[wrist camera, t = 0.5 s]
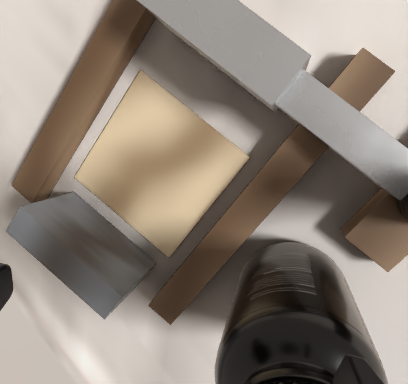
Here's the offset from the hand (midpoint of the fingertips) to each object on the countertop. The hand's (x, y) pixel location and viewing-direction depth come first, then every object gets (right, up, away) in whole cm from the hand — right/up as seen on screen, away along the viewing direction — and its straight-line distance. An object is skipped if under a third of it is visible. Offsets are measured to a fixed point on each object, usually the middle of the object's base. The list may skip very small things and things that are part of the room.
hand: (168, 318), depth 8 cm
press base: (+2, +5, +12) cm, 13 cm away
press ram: (+7, +8, +10) cm, 15 cm away
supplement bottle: (+7, -3, +13) cm, 15 cm away
